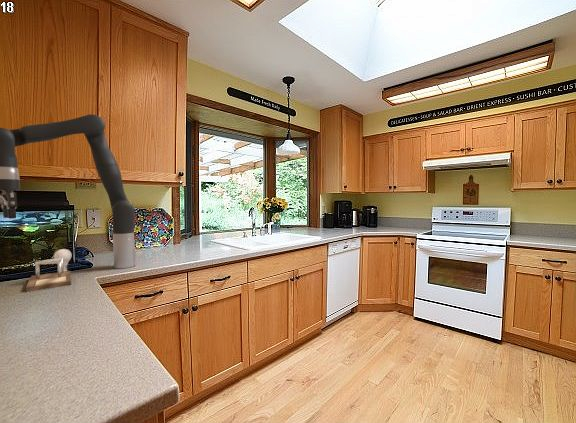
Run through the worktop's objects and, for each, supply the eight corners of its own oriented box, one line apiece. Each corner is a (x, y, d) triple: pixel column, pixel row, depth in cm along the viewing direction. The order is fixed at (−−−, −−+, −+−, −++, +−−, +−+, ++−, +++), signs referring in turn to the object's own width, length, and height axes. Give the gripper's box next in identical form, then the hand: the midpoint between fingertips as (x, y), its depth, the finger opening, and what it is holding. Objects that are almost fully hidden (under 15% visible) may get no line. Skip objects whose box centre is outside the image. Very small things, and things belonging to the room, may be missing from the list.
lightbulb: (51, 274, 123) (50, 250, 122) (59, 271, 129) (58, 248, 128) (68, 273, 125) (67, 250, 124) (74, 270, 131) (74, 247, 130)
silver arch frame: (63, 272, 121) (63, 256, 121) (63, 277, 114) (62, 260, 114) (36, 275, 116) (36, 259, 115) (34, 281, 108) (34, 263, 108)
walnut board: (70, 273, 124) (70, 270, 124) (70, 284, 109) (70, 281, 109) (31, 279, 116) (31, 275, 116) (26, 291, 100) (25, 287, 100)
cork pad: (66, 277, 113) (66, 276, 113) (65, 281, 108) (65, 280, 108) (36, 281, 108) (36, 280, 108) (35, 286, 102) (35, 284, 102)
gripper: (24, 178, 110) (26, 218, 111) (15, 179, 118) (17, 216, 119) (-3, 177, 104) (0, 219, 105) (-11, 179, 112) (-8, 218, 113)
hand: (9, 218), depth 112 cm, fingers open, 8 cm apart
